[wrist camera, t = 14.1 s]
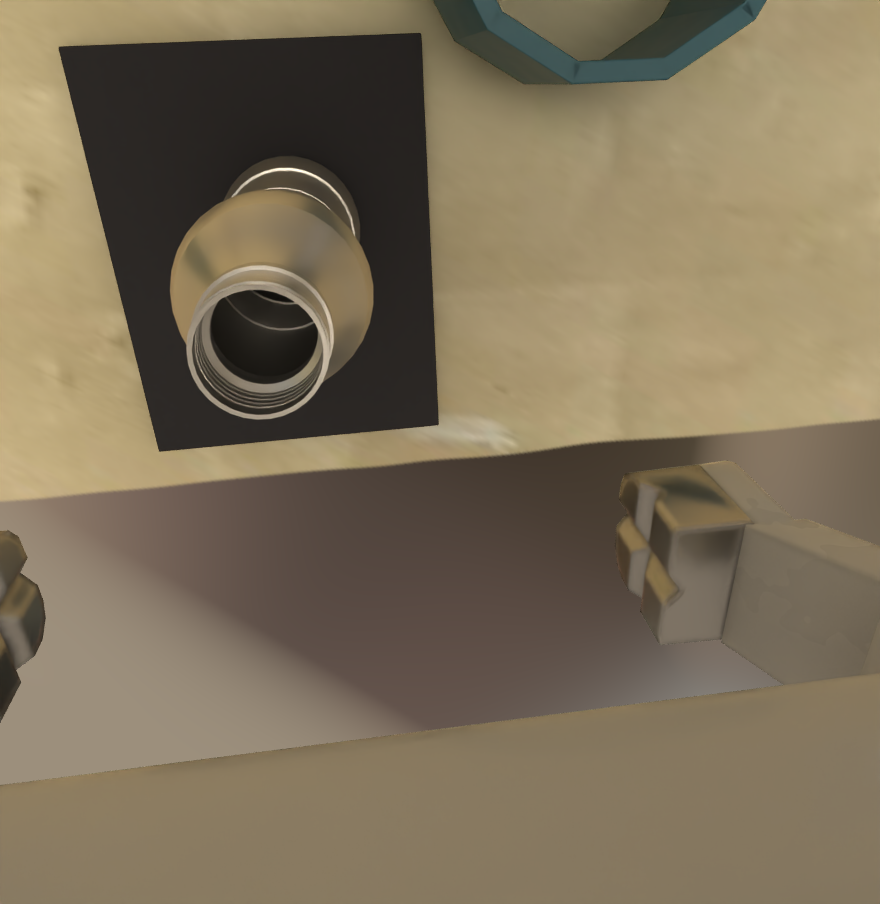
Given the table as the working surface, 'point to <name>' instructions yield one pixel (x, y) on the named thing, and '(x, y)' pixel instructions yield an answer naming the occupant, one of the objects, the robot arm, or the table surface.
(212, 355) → the plastic bottle
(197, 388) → the mat
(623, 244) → the table surface
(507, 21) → the bucket
